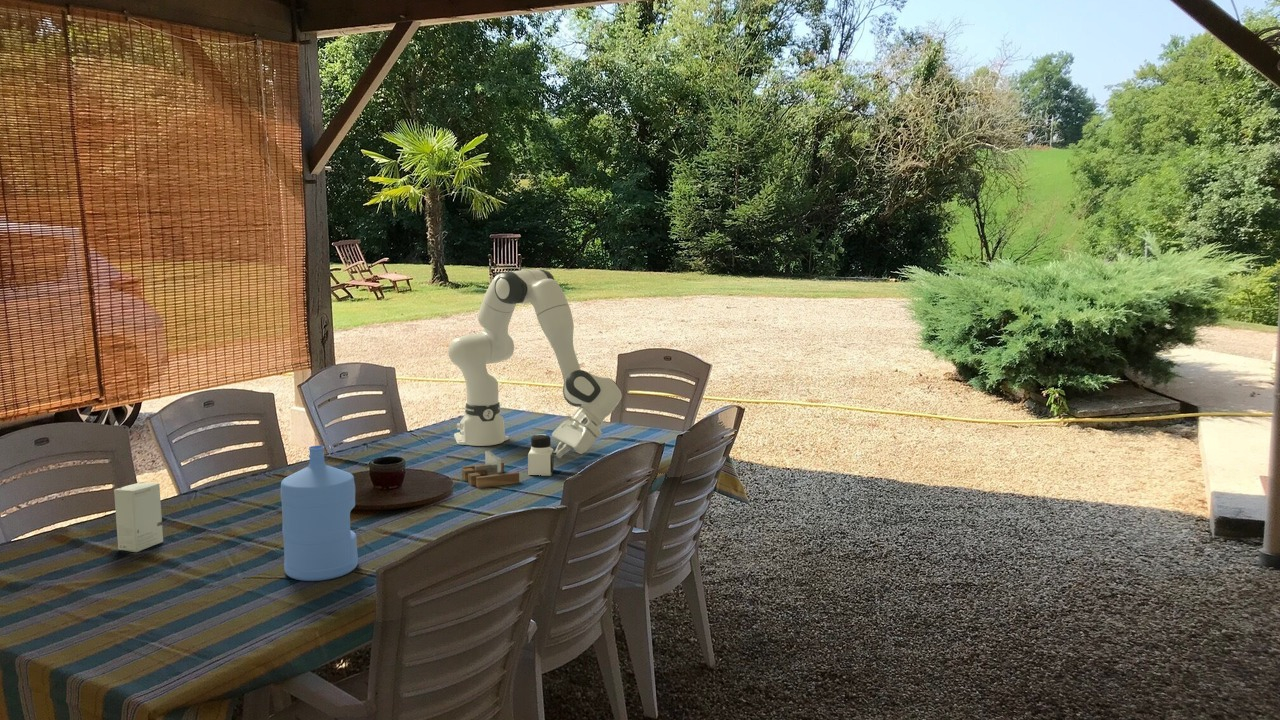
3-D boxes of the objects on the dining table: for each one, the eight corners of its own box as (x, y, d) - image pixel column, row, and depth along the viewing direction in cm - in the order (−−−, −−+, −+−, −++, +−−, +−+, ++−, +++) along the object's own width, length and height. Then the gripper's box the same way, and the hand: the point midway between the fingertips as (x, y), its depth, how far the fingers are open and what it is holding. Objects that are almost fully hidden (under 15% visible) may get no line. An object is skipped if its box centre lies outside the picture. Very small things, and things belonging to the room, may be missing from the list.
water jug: (316, 588, 194) (310, 459, 190) (269, 573, 202) (262, 449, 198) (373, 565, 207) (368, 445, 203) (326, 552, 215) (321, 436, 211)
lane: (459, 476, 281) (459, 466, 281) (502, 470, 288) (502, 461, 288) (474, 488, 268) (474, 478, 268) (519, 482, 275) (519, 473, 274)
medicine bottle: (551, 476, 282) (550, 438, 281) (528, 475, 283) (527, 438, 281) (553, 470, 289) (553, 433, 288) (531, 469, 290) (530, 432, 288)
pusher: (469, 474, 281) (469, 452, 280) (489, 472, 284) (488, 450, 283) (481, 484, 271) (481, 461, 270) (501, 481, 274) (501, 458, 273)
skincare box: (136, 553, 214) (132, 491, 212) (116, 550, 215) (111, 489, 213) (165, 541, 222) (160, 482, 219) (145, 538, 223) (141, 480, 221)
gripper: (565, 410, 299) (537, 442, 296) (591, 422, 281) (562, 457, 278) (577, 422, 301) (550, 454, 298) (604, 435, 283) (575, 469, 280)
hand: (556, 456), depth 288 cm, fingers closed
